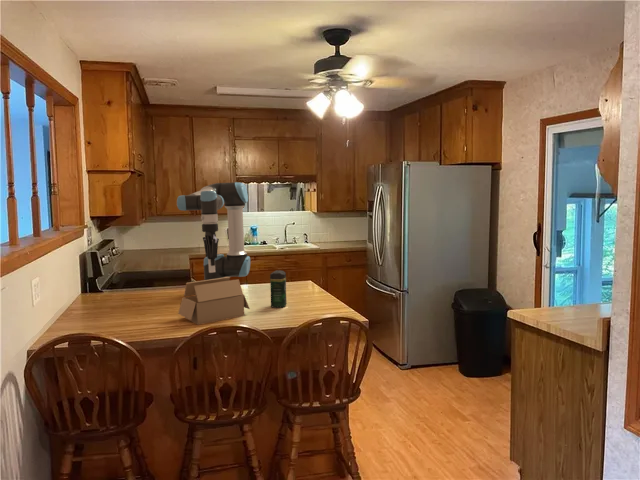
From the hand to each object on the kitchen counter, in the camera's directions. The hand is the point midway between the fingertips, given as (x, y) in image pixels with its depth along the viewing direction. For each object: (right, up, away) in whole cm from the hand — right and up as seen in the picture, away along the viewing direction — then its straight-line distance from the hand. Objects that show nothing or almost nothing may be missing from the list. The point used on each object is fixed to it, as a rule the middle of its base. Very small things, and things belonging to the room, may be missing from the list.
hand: (212, 272), depth 245 cm
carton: (+1, -22, +3) cm, 22 cm away
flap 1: (-5, -11, +8) cm, 15 cm away
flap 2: (+5, -12, -5) cm, 14 cm away
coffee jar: (+30, -19, +21) cm, 42 cm away
